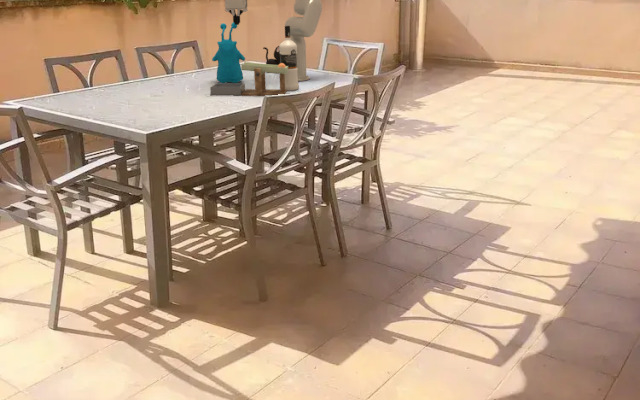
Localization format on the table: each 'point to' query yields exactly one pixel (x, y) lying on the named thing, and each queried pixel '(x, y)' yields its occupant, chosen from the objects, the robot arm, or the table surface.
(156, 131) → the table surface
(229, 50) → the toy
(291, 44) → the vodka
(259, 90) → the stand
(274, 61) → the toy
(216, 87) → the dish
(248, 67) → the lever
